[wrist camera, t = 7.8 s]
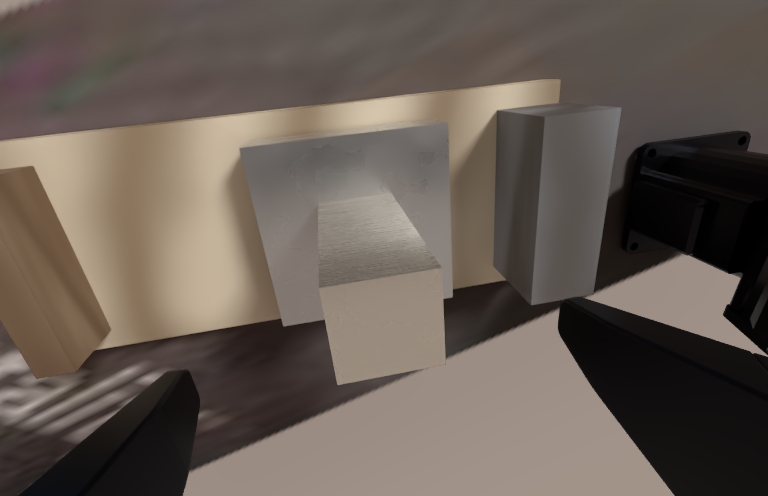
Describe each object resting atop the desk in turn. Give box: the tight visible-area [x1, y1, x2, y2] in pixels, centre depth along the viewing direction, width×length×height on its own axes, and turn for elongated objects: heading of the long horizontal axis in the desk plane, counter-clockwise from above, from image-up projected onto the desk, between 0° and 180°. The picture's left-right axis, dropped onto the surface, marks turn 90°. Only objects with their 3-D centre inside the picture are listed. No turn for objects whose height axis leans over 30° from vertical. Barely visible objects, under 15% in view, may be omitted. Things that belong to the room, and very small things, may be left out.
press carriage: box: [239, 118, 453, 385], centre depth 14 cm, size 8×8×9 cm
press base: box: [0, 79, 621, 379], centre depth 17 cm, size 24×10×6 cm, turn 96°
